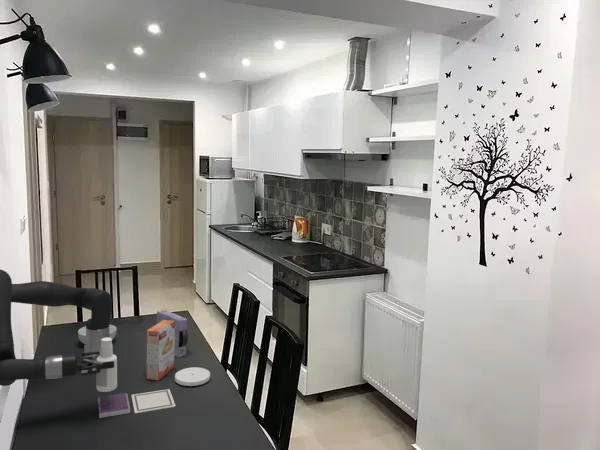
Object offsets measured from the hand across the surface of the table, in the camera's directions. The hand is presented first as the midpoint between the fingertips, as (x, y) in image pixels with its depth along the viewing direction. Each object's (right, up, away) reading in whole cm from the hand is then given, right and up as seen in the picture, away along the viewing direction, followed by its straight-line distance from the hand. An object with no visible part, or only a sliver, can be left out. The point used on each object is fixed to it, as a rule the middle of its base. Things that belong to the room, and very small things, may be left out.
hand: (113, 360), depth 171 cm
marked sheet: (+12, -17, +8) cm, 22 cm away
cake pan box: (+6, -11, +54) cm, 56 cm away
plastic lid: (+22, -16, +26) cm, 38 cm away
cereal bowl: (-31, -9, +61) cm, 69 cm away
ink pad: (-1, -18, +2) cm, 18 cm away
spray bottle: (-2, -10, 0) cm, 10 cm away
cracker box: (+8, -14, +31) cm, 35 cm away
